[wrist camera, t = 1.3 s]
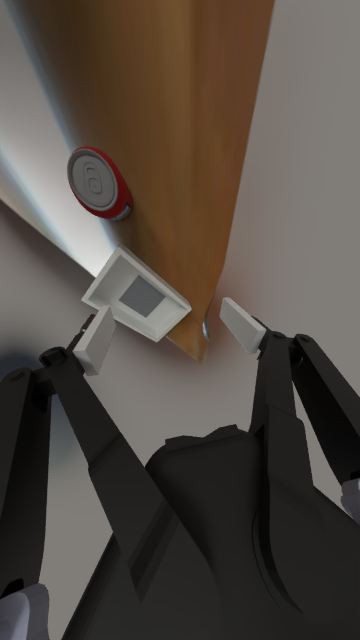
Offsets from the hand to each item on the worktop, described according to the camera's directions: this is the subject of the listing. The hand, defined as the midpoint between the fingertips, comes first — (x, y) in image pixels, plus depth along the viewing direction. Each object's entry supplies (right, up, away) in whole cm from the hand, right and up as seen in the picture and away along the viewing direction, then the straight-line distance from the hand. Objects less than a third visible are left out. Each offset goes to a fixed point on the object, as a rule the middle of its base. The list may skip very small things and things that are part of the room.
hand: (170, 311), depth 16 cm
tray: (-9, +5, +22) cm, 24 cm away
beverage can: (-11, +22, +10) cm, 27 cm away
